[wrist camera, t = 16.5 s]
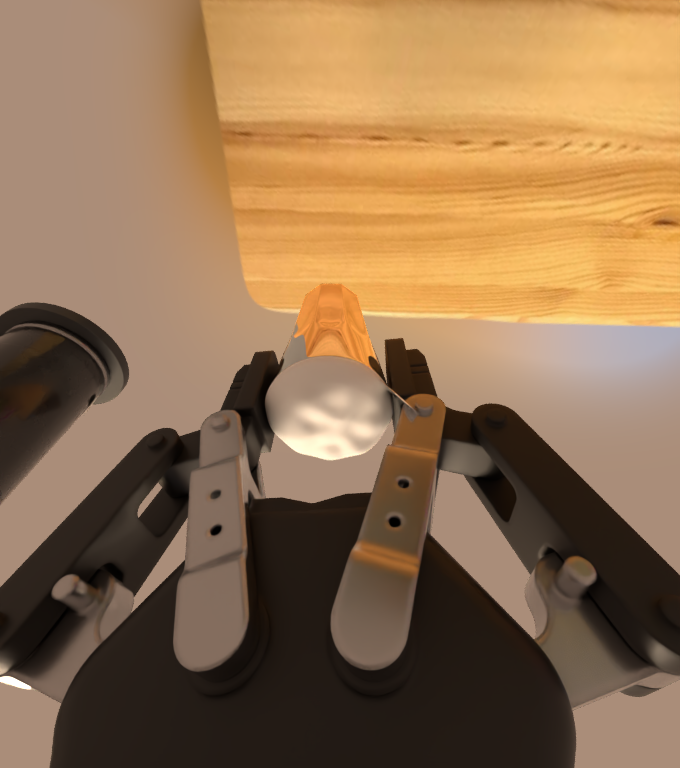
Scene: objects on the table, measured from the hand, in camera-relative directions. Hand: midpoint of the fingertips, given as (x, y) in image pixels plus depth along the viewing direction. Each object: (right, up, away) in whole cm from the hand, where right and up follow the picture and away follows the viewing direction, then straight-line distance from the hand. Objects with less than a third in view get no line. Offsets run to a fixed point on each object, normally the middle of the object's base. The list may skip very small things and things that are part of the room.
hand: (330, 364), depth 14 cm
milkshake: (0, +4, +4) cm, 6 cm away
